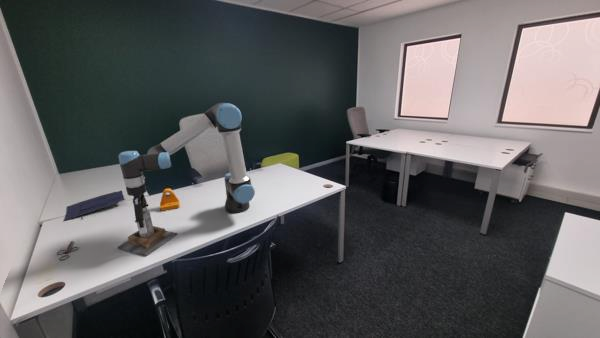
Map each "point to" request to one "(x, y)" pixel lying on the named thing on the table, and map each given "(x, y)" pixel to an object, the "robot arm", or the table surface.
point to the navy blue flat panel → (93, 204)
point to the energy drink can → (147, 225)
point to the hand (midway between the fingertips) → (145, 225)
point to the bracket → (169, 200)
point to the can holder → (147, 241)
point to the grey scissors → (67, 250)
